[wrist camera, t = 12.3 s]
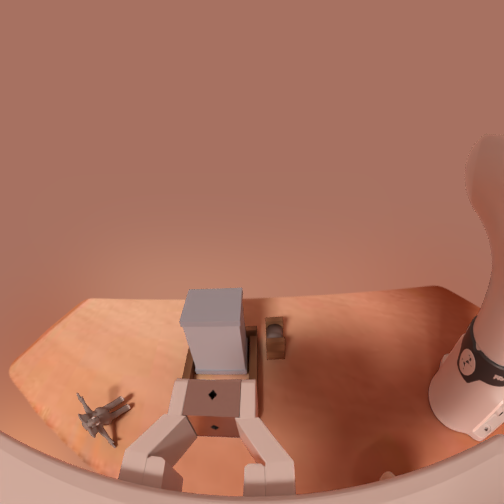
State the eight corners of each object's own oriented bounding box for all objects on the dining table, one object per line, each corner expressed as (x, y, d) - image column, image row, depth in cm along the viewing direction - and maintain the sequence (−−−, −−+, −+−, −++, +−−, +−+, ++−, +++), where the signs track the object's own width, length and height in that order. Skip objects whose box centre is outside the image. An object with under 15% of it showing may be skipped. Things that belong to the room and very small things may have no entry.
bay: (282, 334, 52) (282, 316, 50) (289, 422, 36) (290, 409, 34) (195, 336, 53) (190, 319, 51) (178, 421, 37) (169, 407, 35)
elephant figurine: (151, 425, 36) (109, 454, 28) (136, 430, 39) (98, 456, 31) (113, 371, 38) (68, 394, 30) (102, 382, 40) (62, 402, 32)
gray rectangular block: (248, 341, 51) (242, 287, 45) (247, 374, 44) (239, 320, 38) (202, 342, 51) (188, 289, 45) (196, 374, 45) (179, 321, 38)
